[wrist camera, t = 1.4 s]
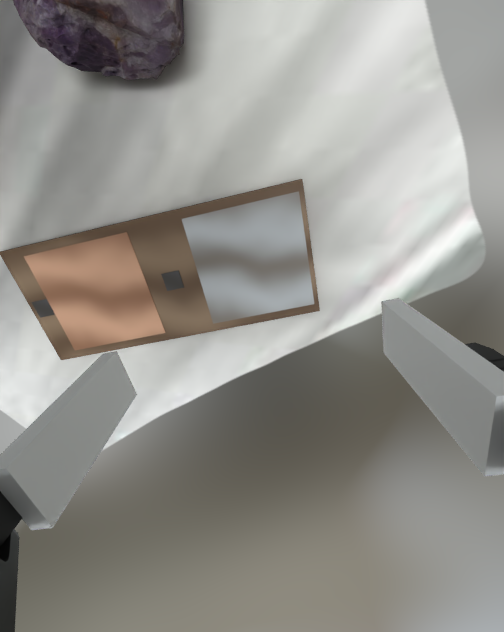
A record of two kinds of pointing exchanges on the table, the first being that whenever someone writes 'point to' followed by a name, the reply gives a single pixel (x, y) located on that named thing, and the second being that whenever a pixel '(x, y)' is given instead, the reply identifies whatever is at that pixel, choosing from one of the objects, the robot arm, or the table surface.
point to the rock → (108, 33)
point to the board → (172, 273)
